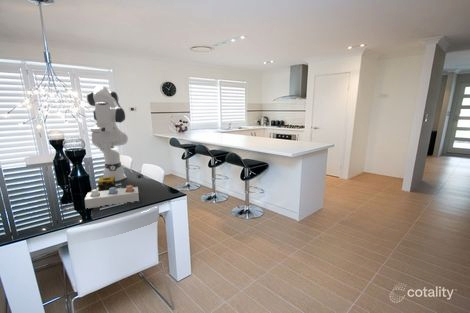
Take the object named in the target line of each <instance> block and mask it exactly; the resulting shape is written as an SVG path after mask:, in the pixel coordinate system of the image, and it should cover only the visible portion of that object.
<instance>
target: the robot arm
mask: <svg viewBox="0 0 470 313" xmlns="http://www.w3.org/2000/svg"><path fill="white" fill-rule="evenodd" d="M86 100H87V103H88V104H89V105H90V106H91V107H92V106H93V107H94V110H93V111H92V113H93V119H94V120H95V121H96V125H95V126H94V127H91V128H90V131H91V132H92V133H91V143H92V144H93V146H94V147H96V148H98V149H99V151H101V152H102V153H103V154H102V155H103V158H104V169H103V170H102V171H103V177H113V176H115V182H118V181H121V180H124V179H126V178H127V175H126V174H125V172H124V168H123V167H122V162H121V157H120V156H121V154H120V153H119V151H117V150H114V148H115V147H120V146H123V145H126V144H127V143H128V141H129V139H128V138H129V137H128V135H127V134H126V133H125V132H123V131H121V130H120V128H118V126H117V123H119V124H121V123H123V122H124V121H125V120H126V112H125V110H124V109H123V107H122V106H121V105H120V103H119V96H118V94H117V92H115V91H109V90H108V88H107V87H105V86H104V85H97V86H95V88H94V89H93V91H90V92H88V93H87V94H86Z"/></svg>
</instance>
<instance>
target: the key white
mask: <svg viewBox="0 0 470 313" xmlns="http://www.w3.org/2000/svg"><path fill="white" fill-rule="evenodd" d="M90 192H91V194H92V197H93V196H99V190H98V188H97V189H95V188H94V189H91V191H90Z"/></svg>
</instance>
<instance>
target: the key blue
mask: <svg viewBox="0 0 470 313" xmlns="http://www.w3.org/2000/svg"><path fill="white" fill-rule="evenodd" d="M116 189H117V186H116V187H112V188H109V192H110V194H117V192H116Z"/></svg>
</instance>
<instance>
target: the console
mask: <svg viewBox="0 0 470 313" xmlns="http://www.w3.org/2000/svg"><path fill="white" fill-rule="evenodd" d="M116 192H117V194H110V192H109V190H106V191H99V196H93V197H92V194H91V191H89V192H87V194H86V195H85V197H84V206H85V209H87V208H88V209H92V208H93V209H94V208H100V206H102V207H106V206H105V205H109V206H113V205H112V204H116V205H120V204H119V203H123V204H128V203H127V202H131V203H135V202H134V201H138V202H140V195H139V187H138V186H133V192H127V189H126V187H123V188H116ZM88 209H87V210H88Z"/></svg>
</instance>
